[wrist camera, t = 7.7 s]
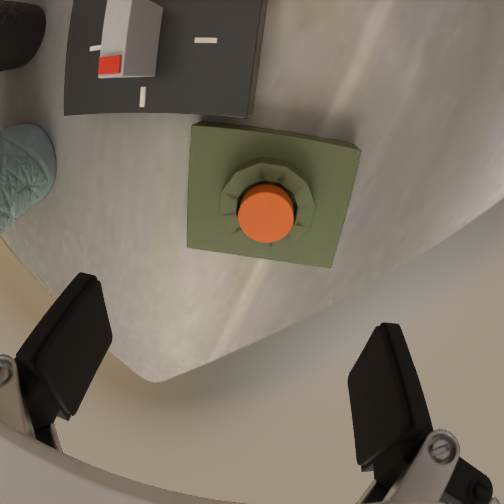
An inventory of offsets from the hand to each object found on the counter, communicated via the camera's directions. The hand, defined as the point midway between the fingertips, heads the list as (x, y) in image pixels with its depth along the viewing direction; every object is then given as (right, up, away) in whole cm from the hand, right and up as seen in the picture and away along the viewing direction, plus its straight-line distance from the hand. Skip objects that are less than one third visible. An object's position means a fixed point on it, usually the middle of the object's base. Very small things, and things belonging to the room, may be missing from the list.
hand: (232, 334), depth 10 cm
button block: (+2, +8, +14) cm, 16 cm away
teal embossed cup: (-23, +12, +14) cm, 29 cm away
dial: (-6, +16, +5) cm, 18 cm away
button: (+2, +6, +11) cm, 13 cm away
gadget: (-6, +18, +9) cm, 21 cm away
